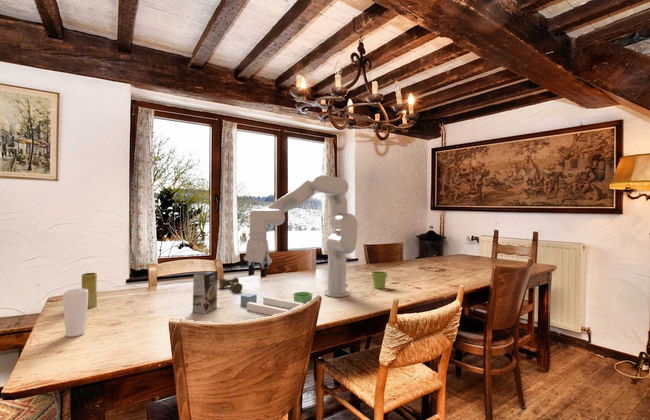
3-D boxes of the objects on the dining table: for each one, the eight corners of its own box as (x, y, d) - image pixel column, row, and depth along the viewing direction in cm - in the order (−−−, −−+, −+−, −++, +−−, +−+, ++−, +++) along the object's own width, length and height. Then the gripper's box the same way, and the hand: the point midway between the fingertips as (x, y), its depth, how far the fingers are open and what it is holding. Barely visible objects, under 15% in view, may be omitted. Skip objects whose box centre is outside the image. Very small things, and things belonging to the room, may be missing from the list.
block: (248, 302, 153) (248, 292, 153) (256, 304, 151) (256, 294, 151) (240, 305, 149) (240, 295, 149) (249, 306, 147) (249, 296, 147)
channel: (266, 302, 153) (266, 296, 153) (306, 310, 142) (306, 303, 142) (246, 309, 142) (246, 302, 142) (289, 319, 131) (289, 311, 131)
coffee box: (206, 313, 136) (206, 274, 136) (192, 312, 137) (192, 274, 137) (217, 307, 145) (218, 270, 145) (204, 306, 146) (205, 270, 146)
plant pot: (367, 288, 185) (368, 272, 185) (375, 285, 193) (375, 270, 193) (383, 290, 180) (383, 275, 180) (390, 287, 188) (390, 272, 188)
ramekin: (299, 307, 147) (299, 297, 147) (289, 302, 154) (289, 293, 154) (316, 304, 152) (316, 295, 152) (305, 299, 160) (305, 290, 160)
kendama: (228, 295, 167) (216, 286, 183) (246, 293, 173) (233, 284, 189) (229, 283, 167) (216, 275, 183) (247, 281, 173) (233, 274, 189)
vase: (100, 305, 144) (101, 273, 144) (86, 309, 138) (87, 275, 138) (90, 303, 146) (91, 272, 146) (76, 307, 140) (76, 274, 140)
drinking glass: (71, 330, 115) (72, 288, 115) (92, 330, 115) (92, 288, 115) (57, 338, 108) (58, 293, 108) (79, 338, 109) (80, 293, 108)
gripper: (237, 236, 148) (237, 275, 149) (267, 238, 140) (267, 280, 140) (249, 235, 155) (248, 272, 155) (278, 237, 146) (277, 277, 147)
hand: (257, 275), depth 148 cm, fingers open, 6 cm apart
